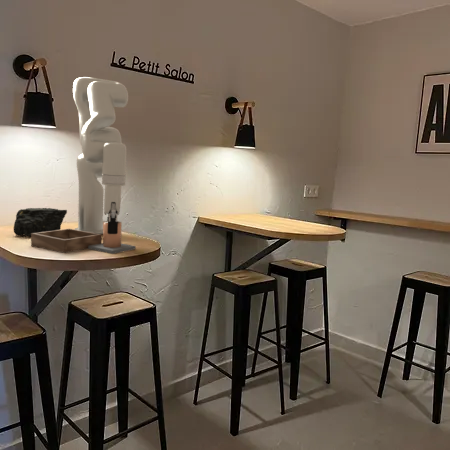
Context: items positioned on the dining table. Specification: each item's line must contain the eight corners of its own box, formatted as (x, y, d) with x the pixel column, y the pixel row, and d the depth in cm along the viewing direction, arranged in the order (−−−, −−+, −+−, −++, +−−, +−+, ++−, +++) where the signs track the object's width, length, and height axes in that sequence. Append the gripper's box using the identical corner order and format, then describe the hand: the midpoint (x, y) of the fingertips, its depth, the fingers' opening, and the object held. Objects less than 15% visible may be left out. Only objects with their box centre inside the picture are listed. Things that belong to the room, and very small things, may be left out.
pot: (111, 243, 156) (112, 220, 155) (124, 245, 153) (125, 222, 152) (99, 245, 151) (99, 221, 150) (112, 248, 148) (112, 223, 147)
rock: (21, 231, 176) (12, 237, 162) (21, 206, 175) (12, 210, 161) (68, 231, 180) (63, 237, 166) (68, 207, 179) (63, 211, 164)
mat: (111, 244, 160) (111, 241, 160) (135, 249, 154) (135, 246, 154) (88, 248, 150) (88, 245, 150) (112, 253, 145) (112, 250, 145)
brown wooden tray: (69, 239, 164) (69, 228, 163) (101, 245, 156) (101, 234, 156) (31, 245, 150) (31, 233, 149) (64, 252, 142) (64, 240, 142)
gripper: (102, 177, 156) (100, 226, 159) (102, 182, 140) (100, 235, 143) (124, 178, 158) (122, 226, 161) (126, 183, 142) (124, 236, 145)
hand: (112, 230), depth 152 cm, fingers open, 9 cm apart
